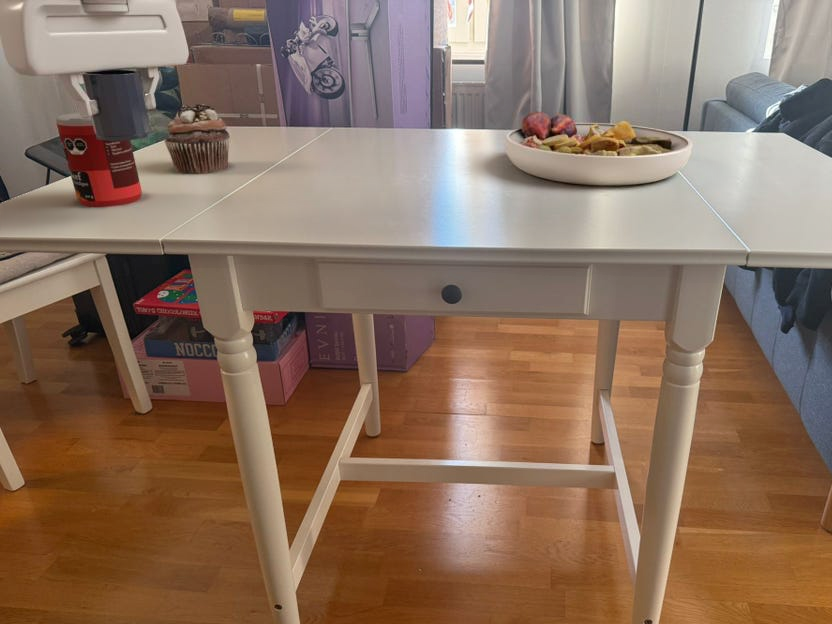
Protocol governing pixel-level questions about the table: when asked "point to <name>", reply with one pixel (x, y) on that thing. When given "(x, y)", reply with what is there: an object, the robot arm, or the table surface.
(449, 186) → the table surface
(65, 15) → the robot arm
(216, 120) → the cupcake
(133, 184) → the canned food
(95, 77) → the pot
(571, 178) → the bowl
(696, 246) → the table surface
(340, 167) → the table surface
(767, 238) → the table surface
